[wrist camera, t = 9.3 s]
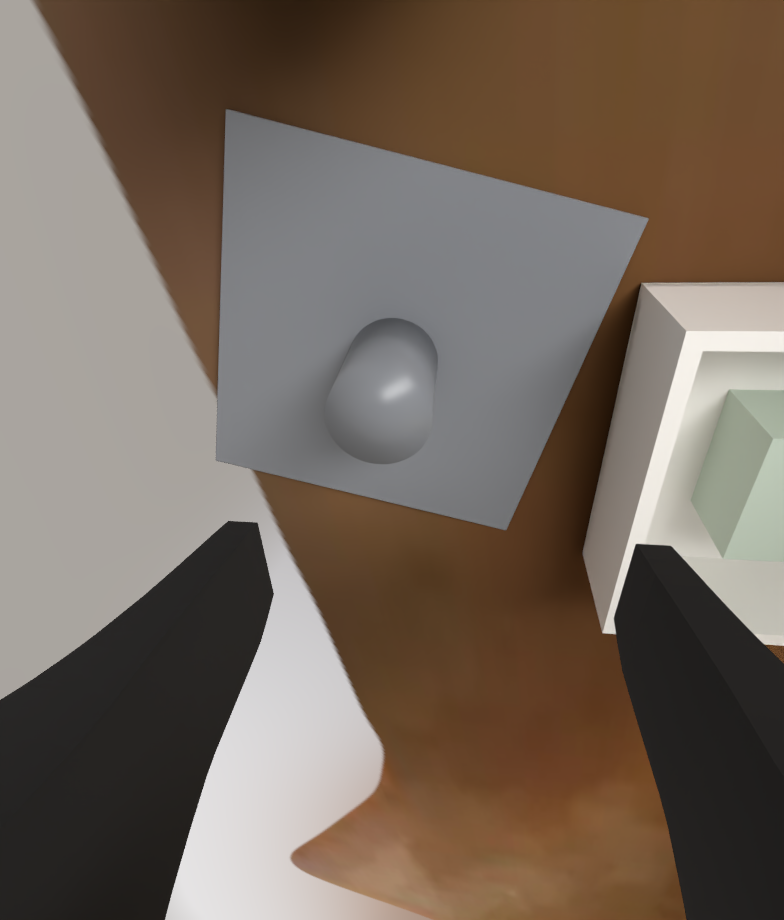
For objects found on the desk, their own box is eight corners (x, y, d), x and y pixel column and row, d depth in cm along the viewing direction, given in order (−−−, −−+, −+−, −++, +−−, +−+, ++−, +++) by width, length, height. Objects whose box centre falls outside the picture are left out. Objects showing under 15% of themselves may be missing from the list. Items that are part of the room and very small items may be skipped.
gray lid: (640, 213, 16) (701, 252, 12) (504, 517, 22) (513, 607, 18) (236, 108, 15) (155, 112, 11) (223, 449, 22) (170, 526, 18)
